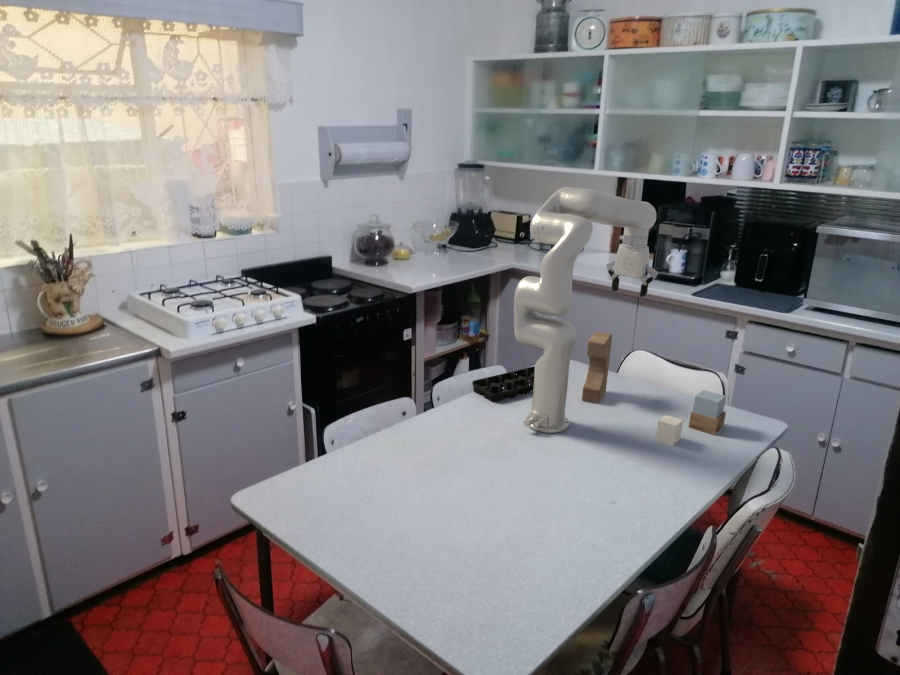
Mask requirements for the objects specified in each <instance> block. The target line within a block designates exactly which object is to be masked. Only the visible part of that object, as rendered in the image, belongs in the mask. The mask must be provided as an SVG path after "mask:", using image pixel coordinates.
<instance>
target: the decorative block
mask: <svg viewBox="0 0 900 675" xmlns="http://www.w3.org/2000/svg"><path fill="white" fill-rule="evenodd" d="M612 339H613V335H612V334H611V333H605V332H599V331H595V332H594V333H593V335H592V336H591V337H590V339H588V341H587V344H586V345H587V346H586V357H588V368H587V369H588V370H587V374H586V379H585V381H584V384H583V386H582V391H581V392H582V394H581V401H582V402H586V401H587V403H591V402H592V404H596V403H597V404H600V403H601V400H602V399H603V398H604V395H605V394H606V392H607V383H608V374H609V367H610V357H611V352H612V351H611V350H612V341H613V340H612ZM597 404H596V405H597Z"/></svg>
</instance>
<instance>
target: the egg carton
mask: <svg viewBox="0 0 900 675" xmlns="http://www.w3.org/2000/svg"><path fill="white" fill-rule="evenodd" d="M516 374H517V375H516ZM534 375H535V366H531V367H530V366H529V367H526V368H522V369H517V370H514V371H509V372H505V373H500V374H496V375H492V376H487V377H484V378H479V379H475V380H472V383H471V384H472V388H473V392H474V393H475V394H477V395H478V396H479V395H480V396H484V397H485V398H484V399H486V400H488V401H489V402H491V403H492V402H493V403H498V402H502V401H503V400H504V399H507V398H510V399H514V398H517V397H518V396H519V394H521V395H520V396H523V395H522V394H526V395H528V394H527V393H530V392H531V393H532V392H533V391H532V390H533V387H534ZM528 380H530V381H528ZM529 384H530V385H529ZM503 387H504V388H503ZM531 393H530V394H531ZM516 396H517V397H516Z"/></svg>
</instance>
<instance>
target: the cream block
mask: <svg viewBox="0 0 900 675" xmlns="http://www.w3.org/2000/svg"><path fill="white" fill-rule="evenodd" d="M683 423H684V420H683V419H679V418H677V417H674V416H670V415H667V414H665V415H664V416H662V417H661V418H659V419H658V421H657V427H656V433H655V434H656V435H655V441H657V442H661V443H663V444H666V445H669V446H673V447H674V446H675V445H676V444H677V443H678V442H679V441H681V437H682V436H681V435H682V429H683Z"/></svg>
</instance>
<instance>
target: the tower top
mask: <svg viewBox="0 0 900 675" xmlns="http://www.w3.org/2000/svg"><path fill="white" fill-rule="evenodd" d="M726 398H727V395H725V394H720V393H716V392H714V391H708V390H706V389H703V390H701V391H700V392H699V393H698V394H696V395H695V396H694V403H693V409H692V411H693V412H694V413H698V414H701V415H704V416H708V417H711V418H715V419H716V418H717V417H718V416H719V415H720V414H721V413H722V412H723V411H724V410H725V409H724V408H725V405H726V404H725V403H726Z"/></svg>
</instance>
